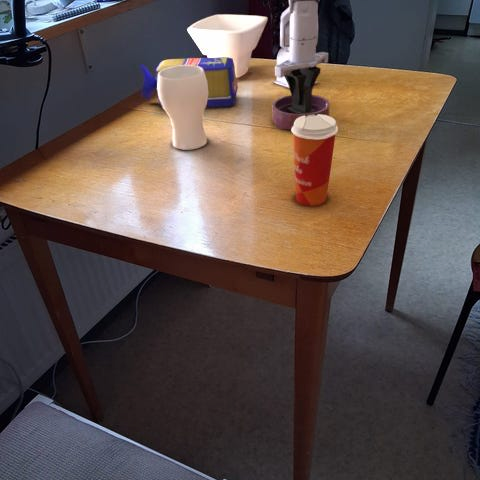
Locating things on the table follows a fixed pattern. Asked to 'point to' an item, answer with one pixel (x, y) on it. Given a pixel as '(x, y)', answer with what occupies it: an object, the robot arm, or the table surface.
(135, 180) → the table surface
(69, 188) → the table surface
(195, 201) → the table surface
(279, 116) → the plum bowl
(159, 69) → the bread
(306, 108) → the brush
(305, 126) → the paper cup
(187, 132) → the cup
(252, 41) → the bowl
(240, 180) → the table surface
